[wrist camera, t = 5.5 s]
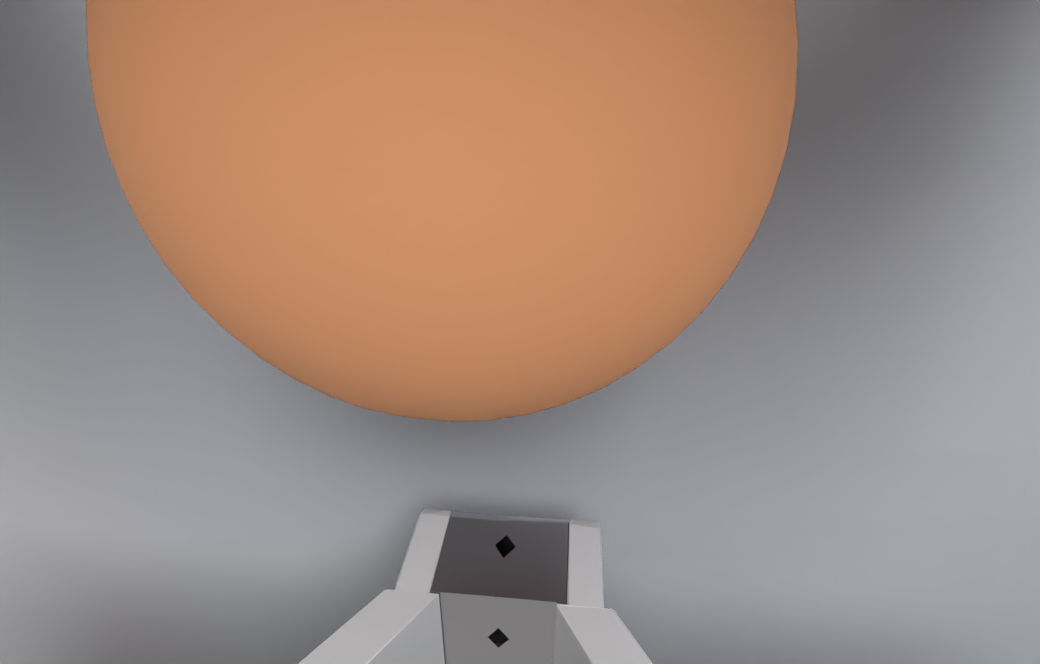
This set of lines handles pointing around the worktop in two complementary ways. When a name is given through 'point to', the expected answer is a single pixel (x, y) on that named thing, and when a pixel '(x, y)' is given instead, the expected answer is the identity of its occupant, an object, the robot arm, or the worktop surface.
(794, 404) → the worktop surface
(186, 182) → the ball
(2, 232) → the worktop surface
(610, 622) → the robot arm
